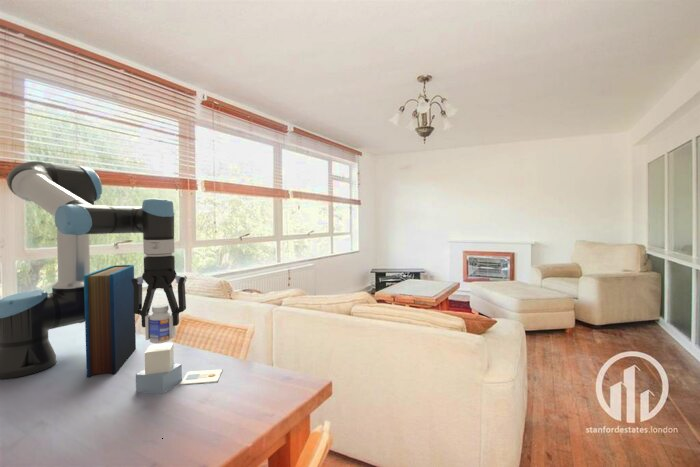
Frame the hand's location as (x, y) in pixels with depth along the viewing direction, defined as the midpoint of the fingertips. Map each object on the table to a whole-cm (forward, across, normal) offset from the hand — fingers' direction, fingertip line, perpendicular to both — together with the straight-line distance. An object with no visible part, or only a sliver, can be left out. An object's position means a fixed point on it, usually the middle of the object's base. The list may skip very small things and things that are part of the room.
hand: (160, 337), depth 97 cm
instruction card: (+13, +10, +3) cm, 17 cm away
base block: (+14, 0, 0) cm, 14 cm away
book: (+14, -22, +21) cm, 33 cm away
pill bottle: (+1, 0, 0) cm, 1 cm away
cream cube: (+9, 0, 0) cm, 9 cm away
